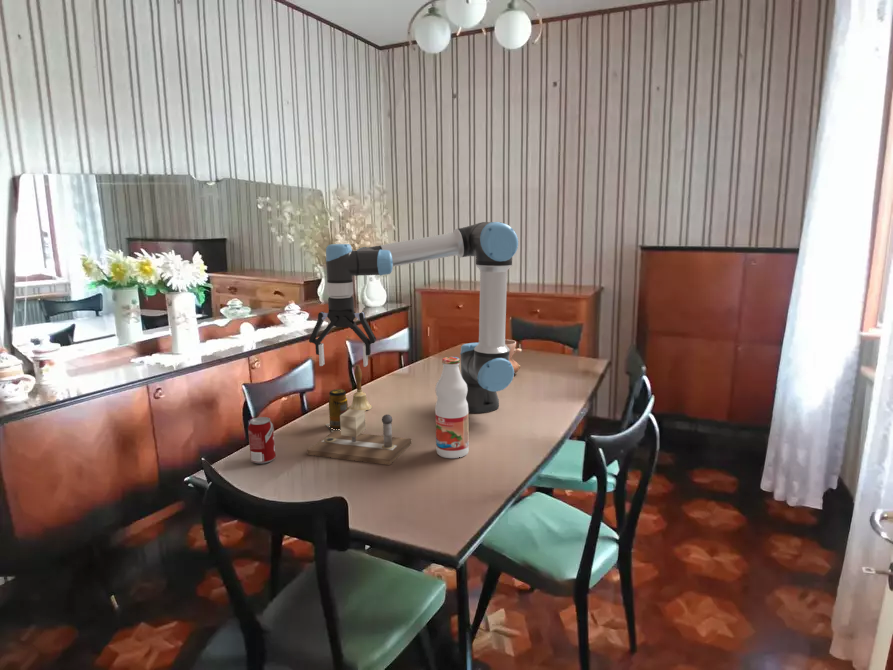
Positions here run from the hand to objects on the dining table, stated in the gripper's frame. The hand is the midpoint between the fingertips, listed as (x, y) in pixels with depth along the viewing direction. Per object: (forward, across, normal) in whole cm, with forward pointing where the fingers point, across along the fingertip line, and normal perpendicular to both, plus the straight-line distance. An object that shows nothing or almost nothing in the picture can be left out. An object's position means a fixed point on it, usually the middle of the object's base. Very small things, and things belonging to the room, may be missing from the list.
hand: (343, 365), depth 180 cm
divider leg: (+21, -5, +10) cm, 23 cm away
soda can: (+23, +19, +20) cm, 36 cm away
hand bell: (+23, +2, -27) cm, 35 cm away
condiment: (+23, +4, -8) cm, 25 cm away
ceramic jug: (+22, -48, -73) cm, 90 cm away
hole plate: (+23, -7, +10) cm, 26 cm away
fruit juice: (+23, -34, +12) cm, 43 cm away
